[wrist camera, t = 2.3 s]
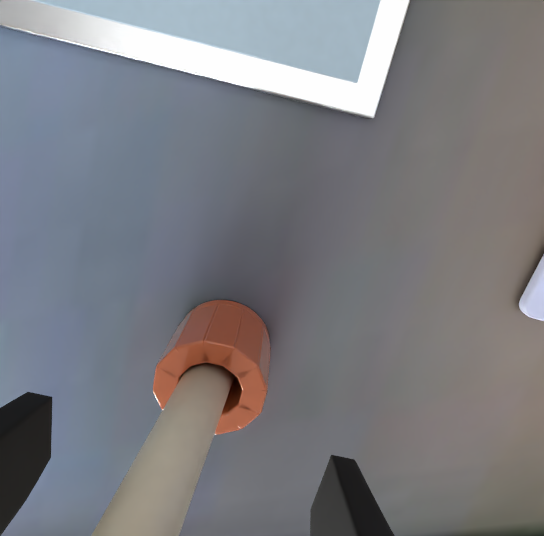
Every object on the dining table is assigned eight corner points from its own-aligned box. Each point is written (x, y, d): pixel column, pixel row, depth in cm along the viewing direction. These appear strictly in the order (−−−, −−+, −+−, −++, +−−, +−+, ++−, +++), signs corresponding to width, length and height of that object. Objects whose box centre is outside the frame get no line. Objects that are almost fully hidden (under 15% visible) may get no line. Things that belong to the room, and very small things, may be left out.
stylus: (248, 334, 14) (75, 815, 4) (239, 369, 15) (70, 867, 5) (205, 322, 14) (-66, 771, 4) (199, 358, 15) (-53, 827, 5)
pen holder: (279, 311, 14) (277, 356, 11) (259, 386, 15) (252, 444, 13) (186, 290, 14) (160, 331, 11) (173, 368, 15) (147, 422, 12)
